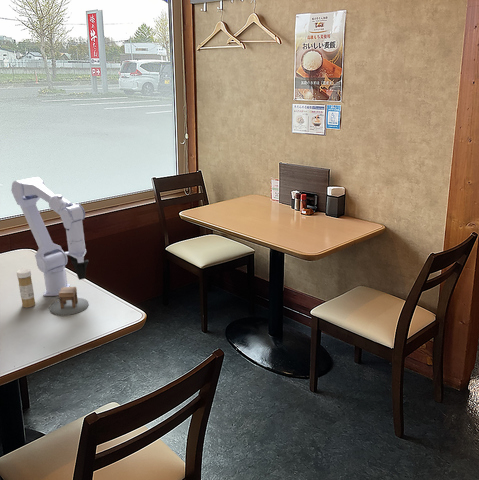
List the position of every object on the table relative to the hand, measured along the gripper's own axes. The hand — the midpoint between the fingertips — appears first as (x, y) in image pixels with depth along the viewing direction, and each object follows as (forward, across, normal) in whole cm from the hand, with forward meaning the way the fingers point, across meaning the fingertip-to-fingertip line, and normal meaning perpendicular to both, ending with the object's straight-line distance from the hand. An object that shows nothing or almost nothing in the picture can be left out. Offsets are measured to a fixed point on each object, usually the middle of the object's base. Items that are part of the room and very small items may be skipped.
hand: (80, 275), depth 182 cm
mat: (+10, +2, -5) cm, 12 cm away
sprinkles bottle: (+11, -6, -18) cm, 22 cm away
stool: (+10, +2, -5) cm, 11 cm away
